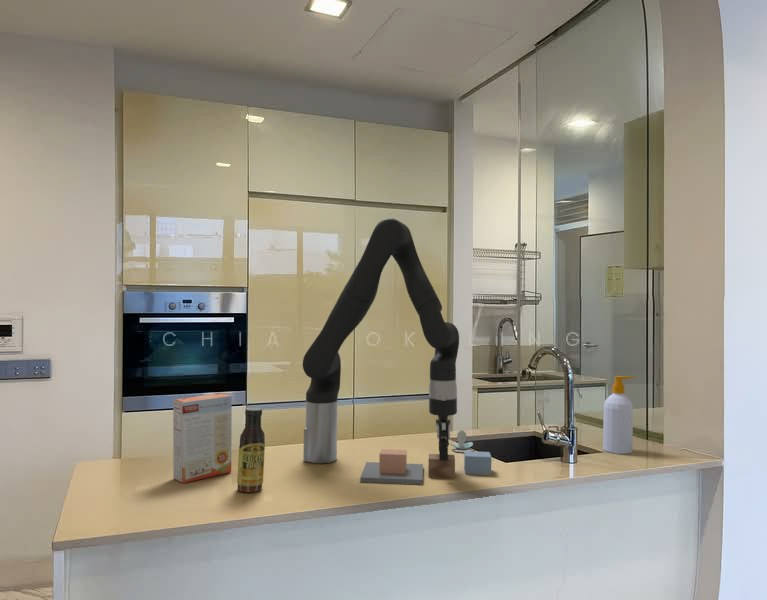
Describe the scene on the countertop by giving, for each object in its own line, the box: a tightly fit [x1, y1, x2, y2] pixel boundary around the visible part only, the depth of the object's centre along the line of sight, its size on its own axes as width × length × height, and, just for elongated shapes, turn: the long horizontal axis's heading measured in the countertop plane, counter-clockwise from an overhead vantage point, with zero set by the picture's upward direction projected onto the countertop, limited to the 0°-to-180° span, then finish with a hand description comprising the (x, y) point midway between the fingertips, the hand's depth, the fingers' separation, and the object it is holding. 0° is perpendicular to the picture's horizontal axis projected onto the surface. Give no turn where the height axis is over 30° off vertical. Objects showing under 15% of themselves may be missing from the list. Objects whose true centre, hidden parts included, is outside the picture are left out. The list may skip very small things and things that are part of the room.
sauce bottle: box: [236, 407, 266, 493], centre depth 138 cm, size 6×6×20 cm
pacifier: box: [449, 429, 474, 454], centre depth 177 cm, size 7×6×6 cm
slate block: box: [463, 451, 492, 476], centre depth 156 cm, size 7×5×5 cm
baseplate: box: [359, 448, 424, 485], centre depth 152 cm, size 16×14×6 cm
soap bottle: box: [602, 375, 636, 455], centre depth 180 cm, size 9×9×24 cm
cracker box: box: [172, 393, 233, 484], centre depth 149 cm, size 14×6×21 cm, turn 134°
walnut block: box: [427, 453, 456, 479], centre depth 153 cm, size 7×5×5 cm
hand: (443, 455), depth 153 cm, fingers open, 8 cm apart
